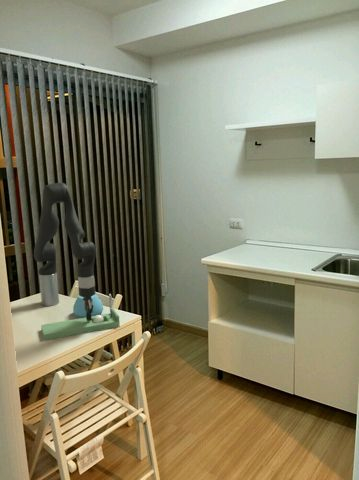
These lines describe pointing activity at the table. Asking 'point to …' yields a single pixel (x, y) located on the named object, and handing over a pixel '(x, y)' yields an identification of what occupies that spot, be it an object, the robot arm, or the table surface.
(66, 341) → the table surface
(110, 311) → the flag pin
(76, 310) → the sugar bowl
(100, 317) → the ball
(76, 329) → the mini golf green
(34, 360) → the table surface
